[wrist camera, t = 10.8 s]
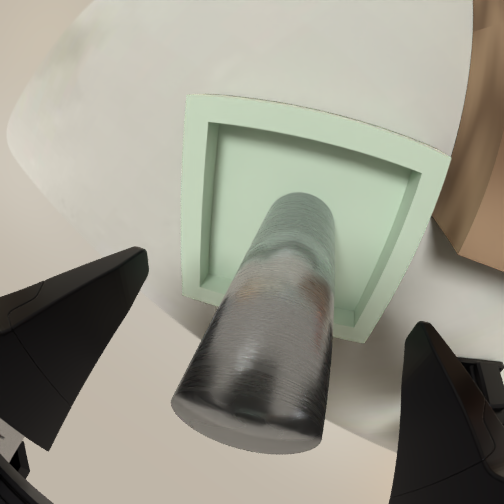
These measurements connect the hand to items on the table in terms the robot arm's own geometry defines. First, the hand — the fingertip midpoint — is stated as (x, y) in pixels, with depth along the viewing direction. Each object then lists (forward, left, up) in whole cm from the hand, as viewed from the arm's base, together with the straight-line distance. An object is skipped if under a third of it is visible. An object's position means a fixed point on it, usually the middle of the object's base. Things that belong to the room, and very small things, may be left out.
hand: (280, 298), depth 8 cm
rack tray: (0, 0, -6) cm, 6 cm away
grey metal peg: (0, 0, -5) cm, 5 cm away
